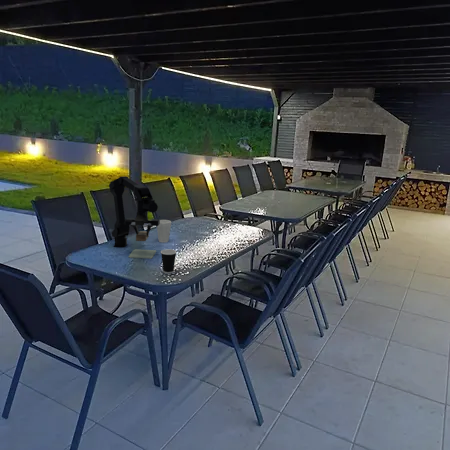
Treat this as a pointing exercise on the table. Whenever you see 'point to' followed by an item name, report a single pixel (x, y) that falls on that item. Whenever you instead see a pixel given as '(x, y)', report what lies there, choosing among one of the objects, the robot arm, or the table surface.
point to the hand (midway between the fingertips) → (142, 236)
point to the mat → (142, 254)
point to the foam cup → (164, 230)
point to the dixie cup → (168, 260)
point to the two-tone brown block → (142, 236)
